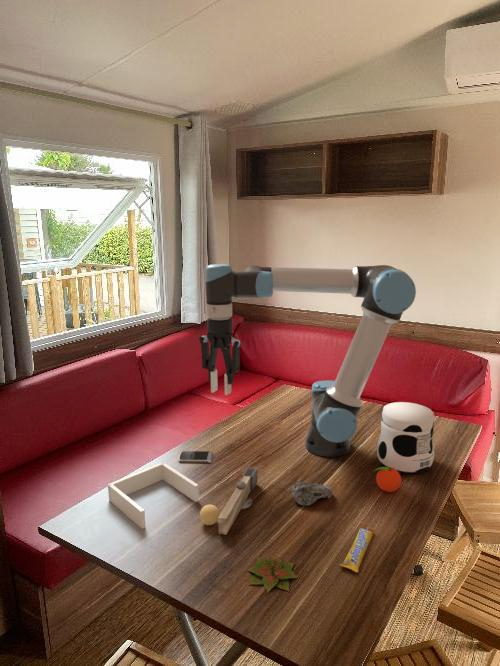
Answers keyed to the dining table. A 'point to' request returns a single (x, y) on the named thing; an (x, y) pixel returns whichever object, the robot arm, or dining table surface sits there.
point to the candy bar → (358, 549)
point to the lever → (237, 499)
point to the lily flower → (272, 565)
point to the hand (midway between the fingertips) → (221, 392)
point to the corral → (145, 479)
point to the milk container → (406, 437)
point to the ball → (209, 514)
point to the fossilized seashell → (310, 492)
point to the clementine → (388, 479)
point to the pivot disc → (247, 503)
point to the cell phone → (196, 457)
